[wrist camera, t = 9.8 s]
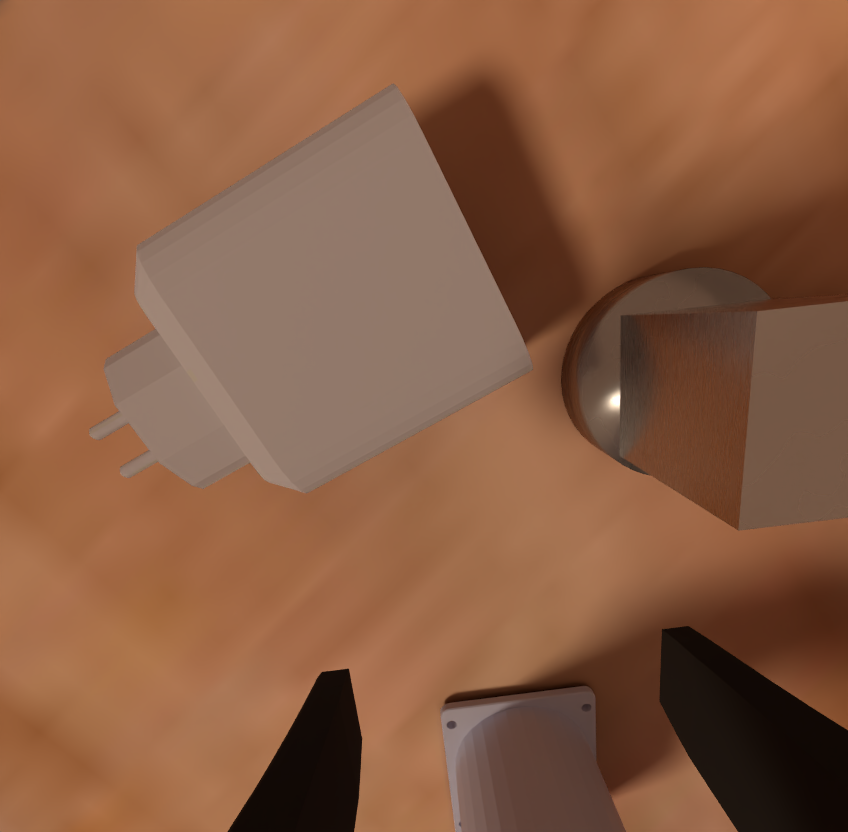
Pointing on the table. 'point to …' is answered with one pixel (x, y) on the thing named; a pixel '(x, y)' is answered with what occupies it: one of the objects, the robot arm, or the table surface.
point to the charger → (313, 313)
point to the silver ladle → (600, 343)
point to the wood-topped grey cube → (741, 406)
